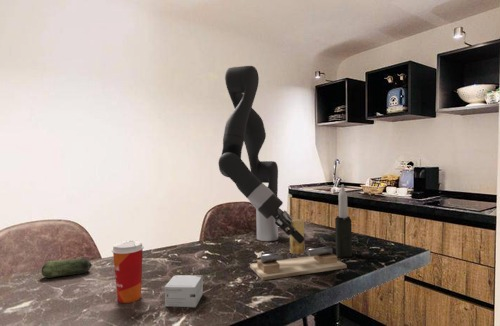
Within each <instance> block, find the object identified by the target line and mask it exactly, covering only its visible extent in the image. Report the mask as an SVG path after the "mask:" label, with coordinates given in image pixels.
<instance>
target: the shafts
mask: <svg viewBox="0 0 500 326" xmlns="http://www.w3.org/2000/svg"><path fill="white" fill-rule="evenodd" d="M327 254H333V248H332V246H322V247H315V248H308V249H307V250H306V255H307V257H308V256H309V257H312V256H319V255H327ZM287 259H289V257H288V253H287V251H283V252H281V251H280V252H274V253H265V254H260V260H261V262H262V263H265V262H273V261H281V260H287Z"/></svg>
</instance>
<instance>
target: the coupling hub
mask: <svg viewBox="0 0 500 326" xmlns="http://www.w3.org/2000/svg"><path fill="white" fill-rule="evenodd" d="M290 221H291V222H292V225H293V226H294V227H295V228H296V230H297V231H298V232H299V233H300V234H301V235H302V236H303V237H304V233H305V220H304V219H299V218H292V219H291V220H290ZM304 238H305V237H304ZM305 247H306V246H305V240H304V241H303V242H302V243H301V244H300V243H299V242H298V241H297V240H296V239H295V238H294V237H293V236H292V235H289V253H290V254H293V255H303V254H305V250H306V248H305Z"/></svg>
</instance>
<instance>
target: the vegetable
mask: <svg viewBox="0 0 500 326" xmlns="http://www.w3.org/2000/svg"><path fill="white" fill-rule="evenodd" d="M92 266H93V264H92V263H91V261H90V259H89V258H87V257H79V258H73V259H72V258H71V259H61V260H49V261H47V262H45V263H44V264H43V265H42V268H41V275H42V276H43V277H45V278H49V279H51V278H56V277H57V278H58V277H62V276H63V277H64V276H72V275H79V274H80V275H81V274H86V273H88V272H89V271H90V269H91V268H92Z"/></svg>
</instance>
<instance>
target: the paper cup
mask: <svg viewBox="0 0 500 326" xmlns="http://www.w3.org/2000/svg"><path fill="white" fill-rule="evenodd" d="M144 248H145V247H144V245H143V243H142V241H140V240H135V241H134V240H129V241H128V240H125V241H120V242H117V243H115V244H113V246H112V249H111V252H112V254H113V265H114V276H115V277H114V278H115V286H116V296H117V301H118V303H121V304H130V303H134V302H137V301H138V300H140V299H141V297H142V285H143V284H142V282H143V281H142V279H143V276H142V275H143V249H144Z"/></svg>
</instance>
